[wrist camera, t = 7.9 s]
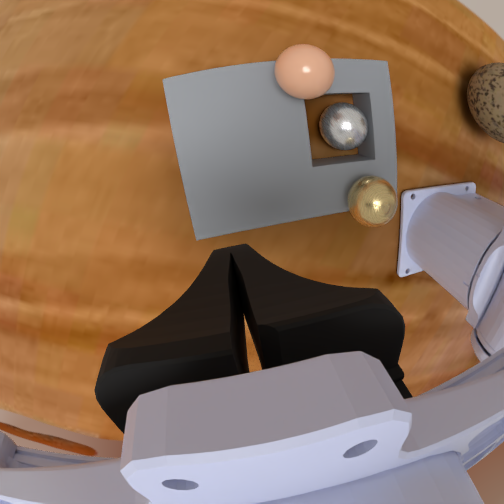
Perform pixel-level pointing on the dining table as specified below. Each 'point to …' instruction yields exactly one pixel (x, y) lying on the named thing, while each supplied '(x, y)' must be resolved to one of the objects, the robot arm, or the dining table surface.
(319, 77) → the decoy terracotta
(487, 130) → the decorative egg
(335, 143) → the steel ball
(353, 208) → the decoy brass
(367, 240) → the dining table surface
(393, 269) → the dining table surface
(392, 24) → the dining table surface
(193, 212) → the grey tray with hole
